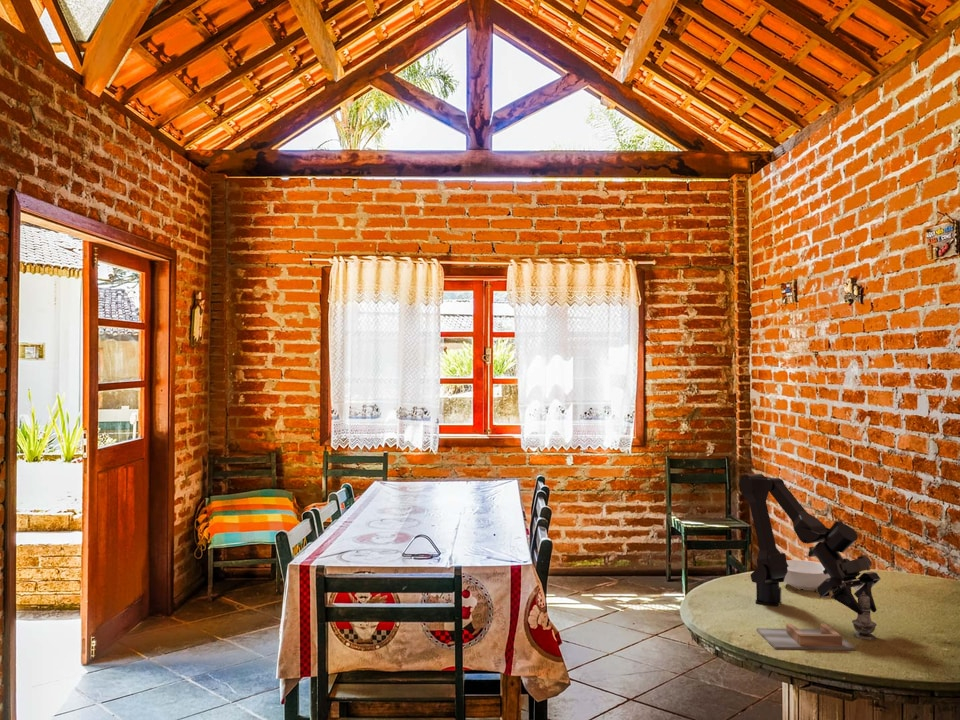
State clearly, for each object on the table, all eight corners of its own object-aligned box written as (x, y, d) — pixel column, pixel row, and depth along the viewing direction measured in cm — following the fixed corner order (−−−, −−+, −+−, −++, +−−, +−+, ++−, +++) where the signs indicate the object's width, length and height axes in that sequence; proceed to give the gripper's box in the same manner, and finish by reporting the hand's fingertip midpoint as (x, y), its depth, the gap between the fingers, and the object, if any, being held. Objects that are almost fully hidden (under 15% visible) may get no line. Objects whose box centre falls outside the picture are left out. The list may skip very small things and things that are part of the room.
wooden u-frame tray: (756, 630, 201) (756, 619, 201) (831, 631, 200) (831, 620, 200) (774, 648, 187) (774, 636, 187) (855, 650, 186) (854, 637, 186)
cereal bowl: (765, 583, 249) (765, 562, 249) (802, 578, 255) (802, 557, 255) (806, 597, 233) (805, 574, 233) (844, 591, 239) (843, 569, 240)
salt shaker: (880, 640, 193) (879, 594, 193) (855, 639, 194) (854, 593, 194) (872, 633, 199) (871, 588, 199) (849, 632, 200) (848, 587, 200)
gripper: (825, 548, 197) (862, 601, 186) (873, 542, 205) (912, 592, 194) (802, 571, 204) (836, 623, 193) (849, 564, 211) (885, 614, 201)
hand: (868, 612), depth 195 cm, fingers open, 5 cm apart
